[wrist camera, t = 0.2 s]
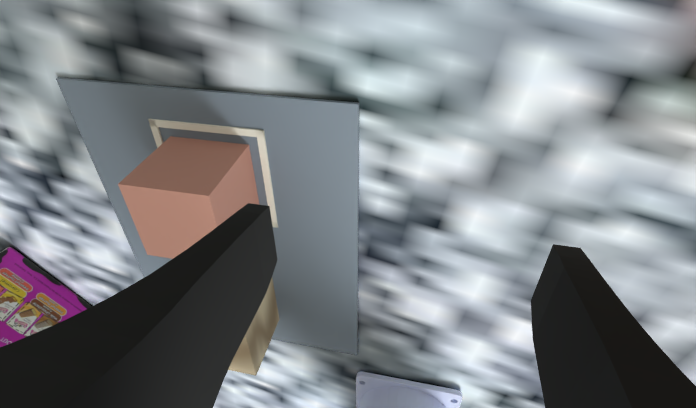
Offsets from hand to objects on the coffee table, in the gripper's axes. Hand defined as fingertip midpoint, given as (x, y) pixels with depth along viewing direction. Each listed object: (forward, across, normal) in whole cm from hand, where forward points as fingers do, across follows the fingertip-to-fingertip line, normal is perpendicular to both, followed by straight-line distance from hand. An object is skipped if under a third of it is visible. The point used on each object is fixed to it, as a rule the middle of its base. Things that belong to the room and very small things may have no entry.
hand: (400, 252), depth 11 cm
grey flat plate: (+10, +11, +10) cm, 18 cm away
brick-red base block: (+10, +11, +6) cm, 16 cm away
